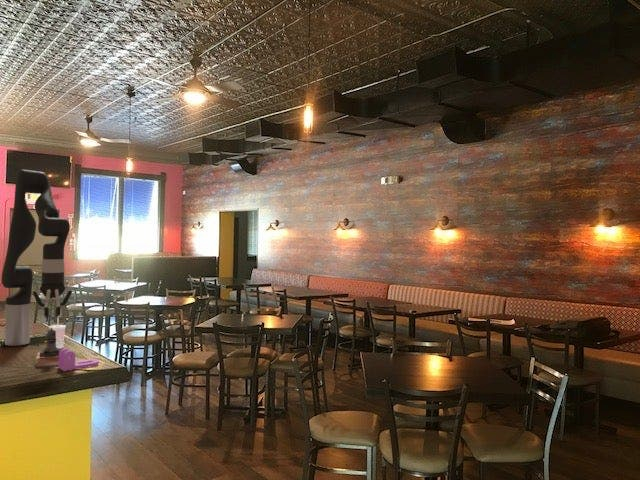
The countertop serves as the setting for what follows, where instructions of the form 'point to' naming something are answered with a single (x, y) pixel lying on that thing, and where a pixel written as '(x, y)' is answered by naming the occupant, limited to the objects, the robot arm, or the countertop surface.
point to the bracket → (72, 361)
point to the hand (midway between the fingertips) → (52, 316)
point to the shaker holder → (46, 360)
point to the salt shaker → (51, 344)
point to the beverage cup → (59, 333)
